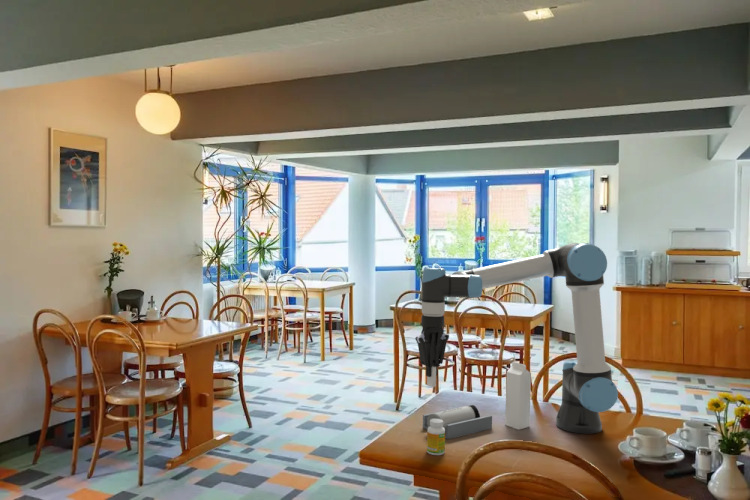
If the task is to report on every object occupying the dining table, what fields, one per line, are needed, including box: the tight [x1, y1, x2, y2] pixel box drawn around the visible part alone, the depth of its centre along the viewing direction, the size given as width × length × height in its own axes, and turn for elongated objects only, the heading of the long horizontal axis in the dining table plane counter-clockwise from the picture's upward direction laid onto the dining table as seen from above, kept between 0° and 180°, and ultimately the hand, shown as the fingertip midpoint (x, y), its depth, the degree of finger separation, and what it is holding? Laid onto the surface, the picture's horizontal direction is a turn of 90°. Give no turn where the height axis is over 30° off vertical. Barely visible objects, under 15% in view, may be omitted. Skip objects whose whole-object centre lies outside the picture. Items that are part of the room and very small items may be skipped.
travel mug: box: [427, 404, 481, 431], centre depth 195 cm, size 6×7×20 cm
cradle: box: [422, 405, 493, 440], centre depth 197 cm, size 13×20×4 cm, turn 125°
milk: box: [504, 361, 532, 430], centre depth 201 cm, size 6×6×22 cm
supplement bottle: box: [426, 419, 446, 456], centre depth 174 cm, size 5×5×10 cm
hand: (431, 385), depth 189 cm, fingers closed
